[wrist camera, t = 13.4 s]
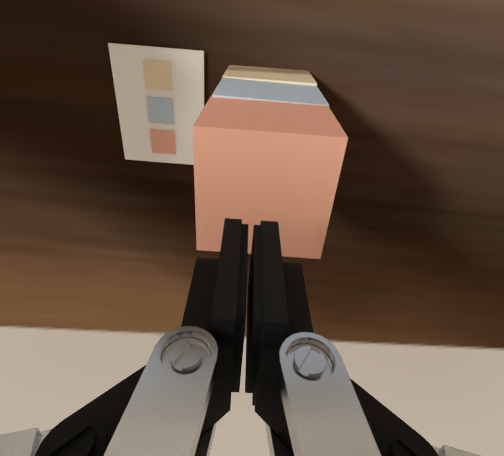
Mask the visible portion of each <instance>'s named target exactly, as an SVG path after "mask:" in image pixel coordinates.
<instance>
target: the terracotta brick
mask: <svg viewBox="0 0 504 456" xmlns="http://www.w3.org/2000/svg"><path fill="white" fill-rule="evenodd" d="M347 141H348V137H347V135H346V133H345V132H344V130H343V129H342V127H341V125H340V124H339V122H338V121H337V119H336V118H335V116H334V114H333V113H332V111H331V110H330V108H329V107H328V106H325V105H312V104H299V103H286V102H273V101H260V100H247V99H234V98H221V97H210V98H209V100H208V102H207V103H206V105H205V107H204V108H203V110H202V111H201V113H200V115H199V116H198V118H197V119H196V121H195V123H194V124H193V154H194V184H195V214H196V244H197V250H204V251H217V252H220V249H221V242H222V235H223V228H224V221H225V218H230V219H242V224H248V254H251V250H252V239H253V228H254V225H260V222H261V221H276V222H278V224H279V234H280V243H281V253H282V256H285V257H299V258H312V259H320V258H321V254H322V249H323V245H324V241H325V236H326V232H327V228H328V223H329V219H330V215H331V210H332V206H333V202H334V197H335V193H336V189H337V184H338V180H339V176H340V171H341V167H342V163H343V158H344V154H345V150H346V146H347Z"/></svg>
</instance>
